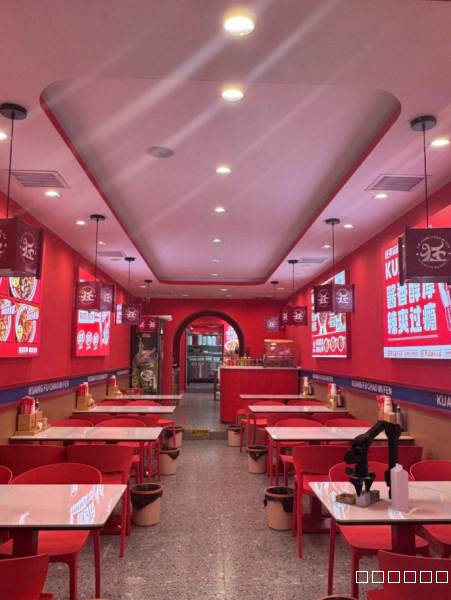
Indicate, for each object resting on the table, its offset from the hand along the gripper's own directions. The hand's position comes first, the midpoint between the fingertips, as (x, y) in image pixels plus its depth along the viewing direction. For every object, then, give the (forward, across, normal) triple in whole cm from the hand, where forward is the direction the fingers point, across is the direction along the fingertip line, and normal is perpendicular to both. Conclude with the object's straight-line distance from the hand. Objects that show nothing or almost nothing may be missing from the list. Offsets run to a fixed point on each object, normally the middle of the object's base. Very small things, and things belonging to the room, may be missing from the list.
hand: (362, 495), depth 235 cm
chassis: (+6, -6, -5) cm, 10 cm away
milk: (+6, -7, +16) cm, 18 cm away
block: (+5, 0, 0) cm, 5 cm away
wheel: (+4, -13, -2) cm, 14 cm away
